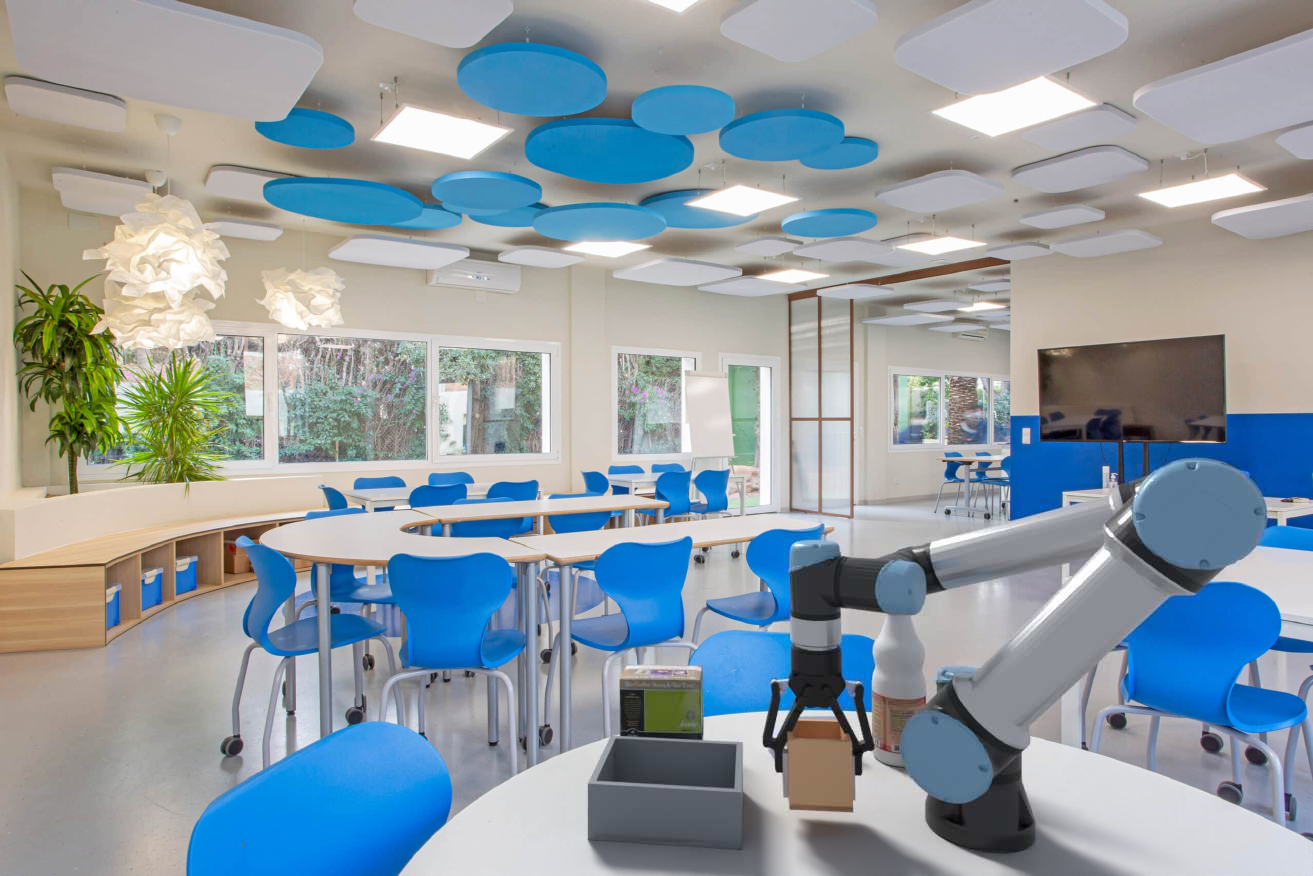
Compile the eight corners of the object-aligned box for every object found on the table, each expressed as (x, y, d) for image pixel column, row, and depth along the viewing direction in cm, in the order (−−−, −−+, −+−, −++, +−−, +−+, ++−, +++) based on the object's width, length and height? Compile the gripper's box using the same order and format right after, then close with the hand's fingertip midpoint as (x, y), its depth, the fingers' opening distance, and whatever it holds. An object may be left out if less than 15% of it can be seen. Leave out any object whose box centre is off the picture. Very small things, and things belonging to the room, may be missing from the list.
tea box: (704, 741, 144) (704, 664, 145) (702, 763, 134) (702, 680, 135) (626, 738, 146) (626, 661, 146) (618, 759, 136) (618, 677, 136)
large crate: (742, 791, 123) (742, 742, 123) (741, 849, 106) (741, 792, 106) (610, 783, 126) (610, 735, 126) (587, 839, 108) (587, 783, 108)
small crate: (845, 785, 117) (844, 720, 117) (853, 812, 108) (851, 742, 108) (786, 782, 118) (785, 718, 118) (789, 809, 109) (788, 740, 109)
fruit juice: (861, 755, 138) (860, 602, 138) (893, 743, 143) (892, 596, 144) (905, 773, 130) (904, 611, 130) (937, 760, 136) (936, 604, 136)
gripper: (885, 639, 116) (888, 787, 115) (743, 636, 118) (745, 781, 118) (895, 652, 108) (898, 810, 108) (742, 649, 111) (745, 803, 111)
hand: (818, 794), depth 113 cm, fingers closed on small crate, 9 cm apart
